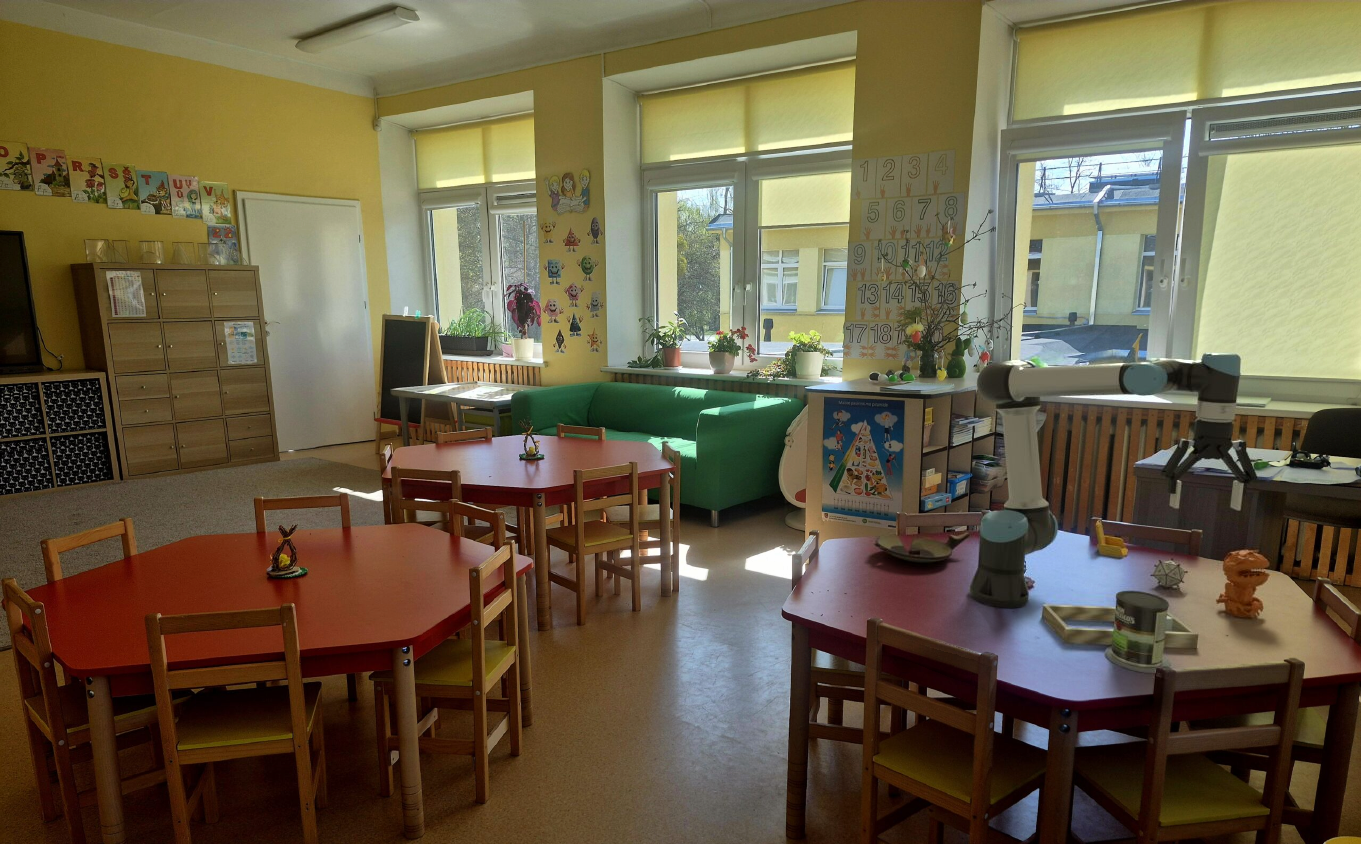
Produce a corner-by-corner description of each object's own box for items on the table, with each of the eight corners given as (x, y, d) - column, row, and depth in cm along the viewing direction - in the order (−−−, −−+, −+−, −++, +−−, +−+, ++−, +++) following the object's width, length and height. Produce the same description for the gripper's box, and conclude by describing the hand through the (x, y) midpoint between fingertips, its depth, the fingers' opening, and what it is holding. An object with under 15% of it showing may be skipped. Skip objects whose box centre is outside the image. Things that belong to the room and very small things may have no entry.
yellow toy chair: (1125, 559, 246) (1128, 531, 244) (1092, 553, 251) (1094, 525, 249) (1128, 550, 254) (1131, 523, 253) (1095, 544, 260) (1098, 518, 258)
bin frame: (1065, 642, 186) (1066, 629, 185) (1041, 617, 200) (1042, 604, 200) (1196, 648, 183) (1198, 634, 183) (1163, 621, 198) (1164, 608, 197)
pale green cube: (1152, 639, 188) (1154, 619, 187) (1137, 630, 193) (1139, 611, 192) (1170, 637, 189) (1172, 618, 188) (1154, 629, 194) (1157, 610, 193)
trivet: (1121, 672, 171) (1121, 670, 171) (1095, 645, 184) (1095, 643, 184) (1182, 674, 170) (1183, 672, 170) (1152, 648, 183) (1152, 646, 183)
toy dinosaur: (1251, 625, 196) (1260, 557, 193) (1205, 609, 206) (1213, 544, 203) (1274, 617, 201) (1284, 550, 198) (1229, 602, 211) (1237, 538, 208)
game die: (1174, 601, 221) (1197, 582, 214) (1144, 588, 222) (1166, 569, 215) (1171, 577, 227) (1193, 558, 220) (1142, 565, 228) (1163, 546, 221)
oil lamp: (870, 545, 257) (871, 523, 256) (965, 550, 252) (966, 528, 251) (875, 568, 236) (877, 544, 234) (979, 575, 231) (981, 550, 229)
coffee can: (1129, 668, 172) (1135, 608, 169) (1101, 648, 182) (1106, 591, 180) (1174, 667, 172) (1180, 606, 170) (1143, 646, 183) (1148, 589, 180)
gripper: (1165, 421, 178) (1156, 510, 182) (1282, 423, 175) (1271, 513, 179) (1150, 416, 185) (1141, 502, 189) (1262, 418, 183) (1251, 505, 186)
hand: (1204, 508), depth 184 cm, fingers open, 13 cm apart
